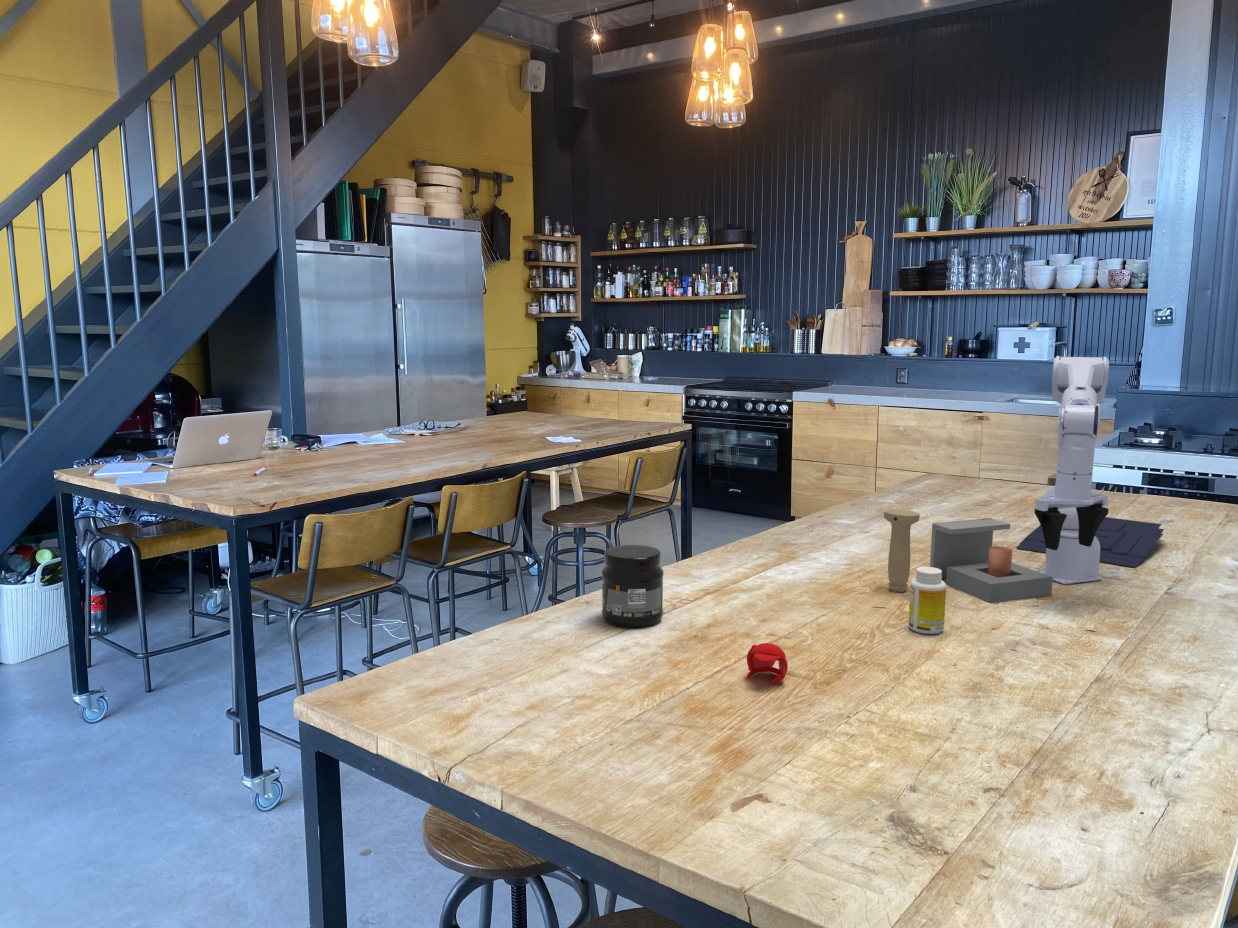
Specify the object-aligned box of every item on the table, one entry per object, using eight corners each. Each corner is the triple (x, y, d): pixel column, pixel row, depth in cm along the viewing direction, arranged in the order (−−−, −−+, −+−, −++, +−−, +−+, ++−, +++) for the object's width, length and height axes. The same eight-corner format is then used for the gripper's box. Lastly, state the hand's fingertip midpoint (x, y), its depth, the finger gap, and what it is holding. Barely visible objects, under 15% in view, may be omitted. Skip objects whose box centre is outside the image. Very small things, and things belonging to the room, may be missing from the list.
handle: (907, 596, 168) (911, 517, 166) (876, 589, 173) (879, 512, 170) (919, 590, 172) (923, 513, 169) (888, 584, 176) (891, 508, 174)
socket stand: (986, 571, 185) (990, 518, 183) (1051, 594, 169) (1055, 537, 167) (929, 577, 180) (932, 523, 179) (990, 602, 165) (994, 543, 163)
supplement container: (632, 605, 163) (632, 540, 161) (676, 619, 156) (676, 551, 154) (589, 619, 156) (588, 551, 154) (632, 634, 149) (632, 563, 147)
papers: (1170, 536, 208) (1171, 521, 208) (1135, 580, 187) (1136, 563, 186) (1057, 521, 225) (1058, 507, 224) (1014, 559, 203) (1014, 543, 202)
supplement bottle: (951, 632, 149) (954, 571, 148) (925, 637, 147) (929, 576, 145) (926, 622, 154) (929, 563, 153) (901, 626, 152) (904, 567, 150)
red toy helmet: (743, 669, 134) (744, 633, 133) (781, 670, 134) (782, 634, 133) (749, 690, 127) (750, 652, 126) (789, 690, 126) (790, 652, 125)
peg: (998, 585, 175) (1000, 545, 174) (1014, 591, 171) (1017, 550, 170) (982, 588, 173) (984, 547, 172) (997, 594, 170) (1000, 552, 168)
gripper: (1059, 478, 155) (1053, 556, 157) (1124, 473, 160) (1118, 548, 162) (1028, 472, 162) (1023, 546, 164) (1092, 467, 166) (1086, 539, 169)
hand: (1068, 547), depth 163 cm, fingers open, 7 cm apart
